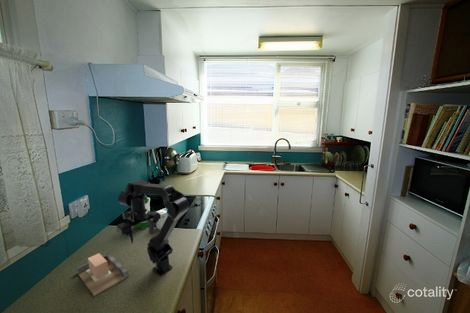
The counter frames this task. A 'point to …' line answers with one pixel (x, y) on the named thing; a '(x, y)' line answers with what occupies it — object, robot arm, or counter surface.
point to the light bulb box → (162, 218)
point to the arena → (105, 282)
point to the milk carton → (146, 224)
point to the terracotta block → (98, 266)
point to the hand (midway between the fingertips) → (141, 238)
